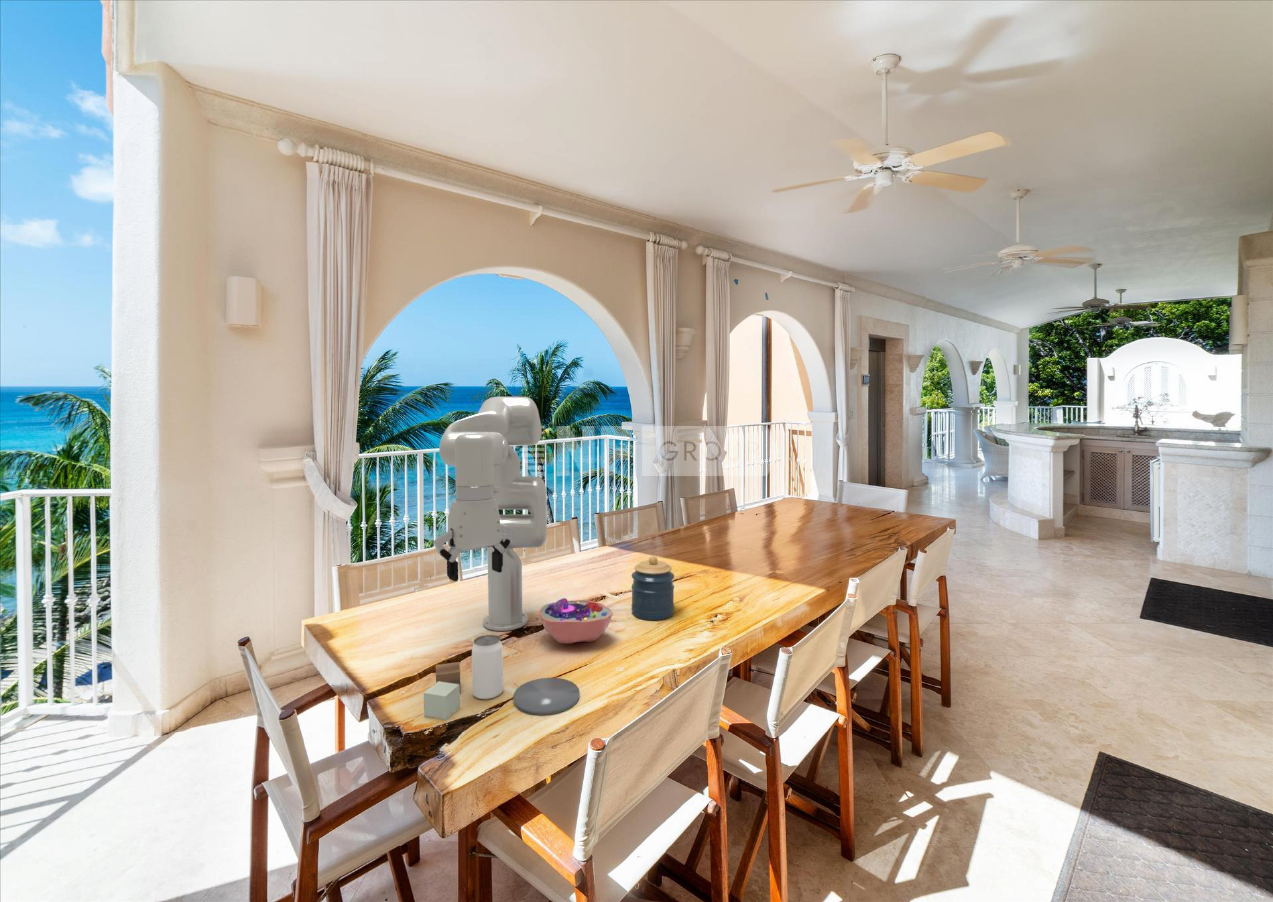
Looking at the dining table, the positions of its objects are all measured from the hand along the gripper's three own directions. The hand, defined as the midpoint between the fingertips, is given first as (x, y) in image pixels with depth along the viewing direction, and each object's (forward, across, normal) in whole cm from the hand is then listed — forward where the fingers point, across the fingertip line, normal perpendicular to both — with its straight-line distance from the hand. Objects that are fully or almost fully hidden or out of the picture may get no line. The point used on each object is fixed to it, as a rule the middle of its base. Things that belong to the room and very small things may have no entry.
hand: (475, 575), depth 118 cm
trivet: (+28, -12, +7) cm, 31 cm away
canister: (+27, -64, -14) cm, 71 cm away
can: (+28, -4, -3) cm, 28 cm away
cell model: (+27, -35, -13) cm, 46 cm away
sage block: (+28, +7, -2) cm, 29 cm away
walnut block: (+28, +2, -10) cm, 29 cm away
